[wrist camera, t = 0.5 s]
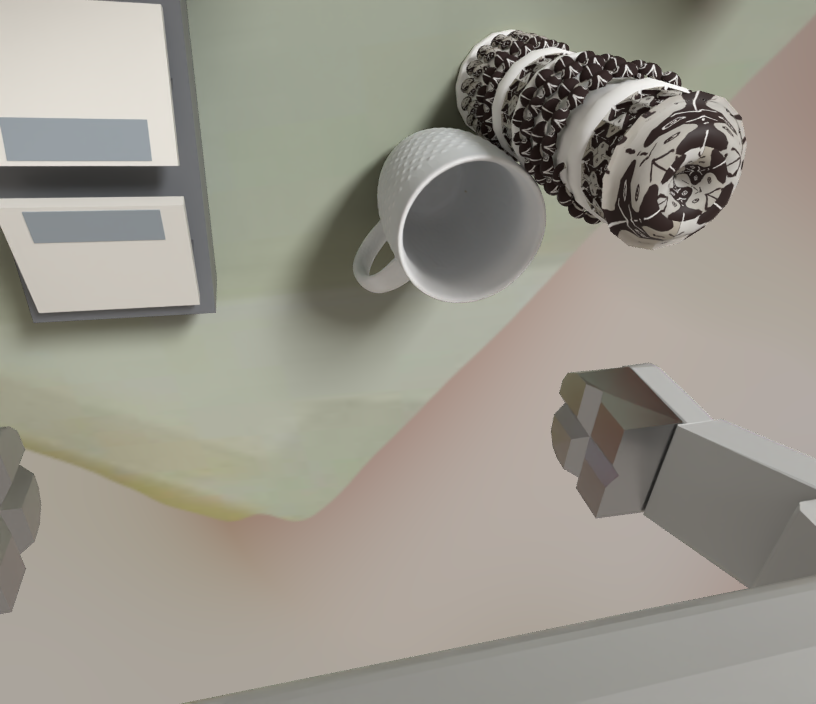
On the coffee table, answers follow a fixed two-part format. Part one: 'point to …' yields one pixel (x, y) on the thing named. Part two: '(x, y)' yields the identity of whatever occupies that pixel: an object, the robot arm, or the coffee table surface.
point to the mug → (452, 218)
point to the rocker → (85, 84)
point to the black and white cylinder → (605, 134)
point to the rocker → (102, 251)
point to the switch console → (140, 179)
